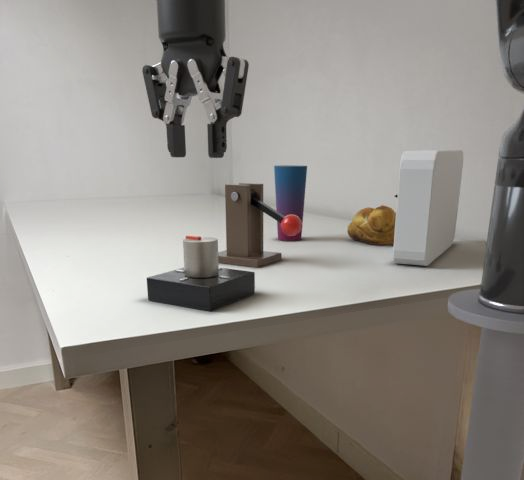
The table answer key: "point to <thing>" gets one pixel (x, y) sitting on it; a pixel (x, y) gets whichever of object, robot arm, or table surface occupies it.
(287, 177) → the cup
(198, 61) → the robot arm
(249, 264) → the brown lever stand
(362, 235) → the bread roll
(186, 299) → the black square base
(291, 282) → the table surface
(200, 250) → the knob
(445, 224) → the rounded white slab
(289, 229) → the lever
